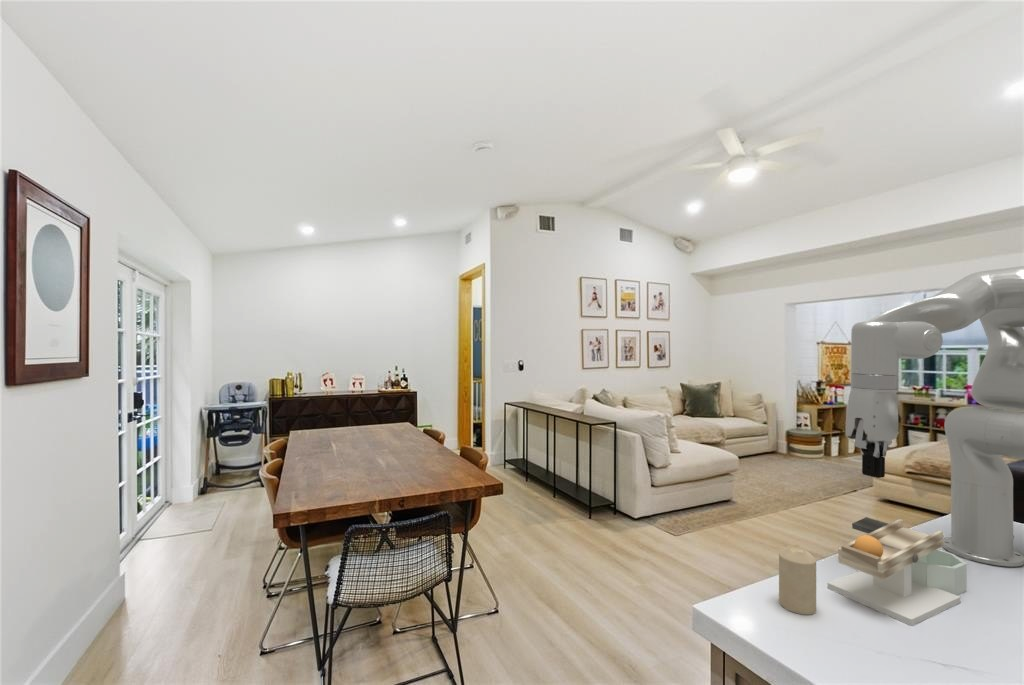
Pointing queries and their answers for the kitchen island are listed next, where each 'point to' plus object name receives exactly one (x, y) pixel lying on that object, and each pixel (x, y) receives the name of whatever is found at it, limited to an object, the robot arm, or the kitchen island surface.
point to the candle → (797, 580)
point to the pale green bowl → (941, 572)
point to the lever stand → (895, 595)
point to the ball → (869, 545)
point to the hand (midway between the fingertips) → (873, 475)
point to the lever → (889, 547)
